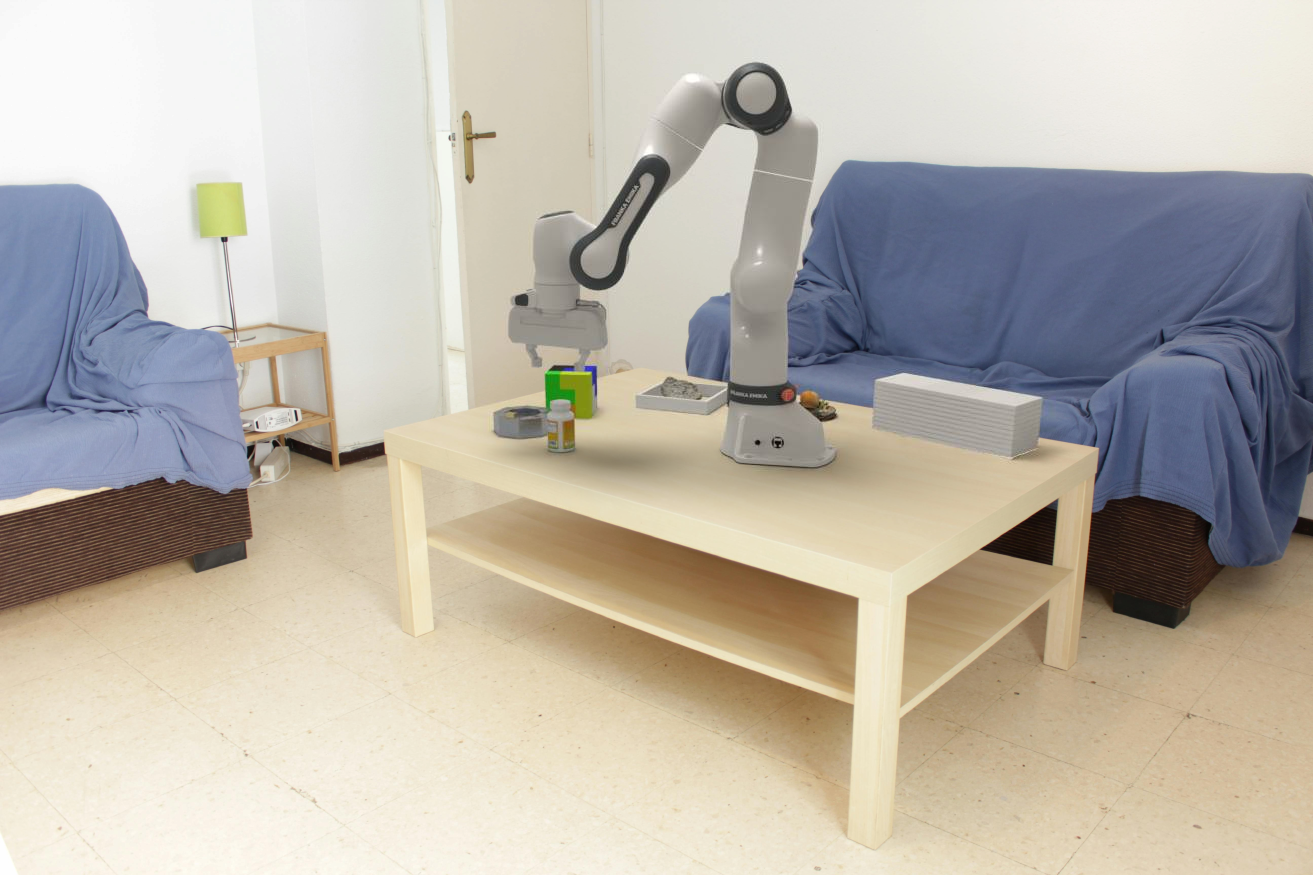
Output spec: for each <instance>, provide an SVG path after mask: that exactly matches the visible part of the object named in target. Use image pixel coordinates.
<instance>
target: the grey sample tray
mask: <svg viewBox="0 0 1313 875" xmlns="http://www.w3.org/2000/svg"><path fill="white" fill-rule="evenodd" d="M664 381H665V379H664V380H662V381H660V382H658V383H656V384H654V385H653V386H651V387H648V388H647V389H644V390H642V391H641V392H639V393H637V394H635V408H638V409H646V410H647V409H648V410H657V411H668V412H676V413H687V414H695V415H705V416H707V415H709V414H711V413H712V412H713V411H715V410H717V409H719V408H720V407H721V406H724V405H725V404H727V386H728V385H725V384H715V383H714V384H712V383H703V382H693V381H690V382H691V383H693V384H696V386H697V389H698V390H700V391H701V393H702V397H706V398H707V397H708V399H705V400H702V399H701V400H692V399H682V398H672V397H663V395H662V393H661V392H662V391H661V388H660V389H659V387H661V386H662V385H663V384H662V383H663V382H664Z"/></svg>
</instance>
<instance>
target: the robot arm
mask: <svg viewBox="0 0 1313 875" xmlns="http://www.w3.org/2000/svg"><path fill="white" fill-rule="evenodd" d="M651 116H652V117H650V119H649V120H648V122H647V124H646V125H645V128H644V130H643V132H642V134H641V137H640V139H639V141H638V144H637V146H636V149H635V152H634V155H633V158H632V162H631V164H630V169H629V170H628V175H627V177H626V180H625V182H624V183H623V185H622V188H621V189H620V191H619V193H618V195H617V196H616V197H615V199H614V201H613V202H612V203H611V205H610V207H609V208H608V210H607V212H606V214H605V215H604V217H603V218H602V220H601V221H600V223H599V224H598V225H597V224H596V225H595V224H594V223H592V222H590V221H588V220H586V219H584V218H583V217H581V216H580V215H578V214H577V212H575V211H574V210H573V211H572V210H561V211H556V212H550V213H546V214H543V215H541V216H540V217H539V218H538V219H537V220H536V221H535V225H534V229H533V238H532V240H533V241H532V261H533V263H534V268H535V270H534V271H535V272H534V277H533V288H531V289H526V291H522V292H518V293H515V294H513V295H511V296H510V299H509V300H510V305H511V306H512V308H511V309H510V310H509V314H508V324H507V326H508V329H507V331H508V332H507V333H508V339H510V341H511V343H513V344H525V350H526V353H527V354H528V356H529V357H530V360H531V361H530V362H531V363H530V364H531V368H538V369H539V368H541V367H543V357H540V356H539V354H538V352H537V350H536V349H538V346H542V347H543V346H545V347H554V348H563V349H564V348H567V349H576V350H578V355H581V356H580V358H579V359H578V361H575V362H573V365H574V367H575V368H574V371H575V372H583V371H585V366H586V361H587V360H588V359H589V356H590V355H591V351H597V352H598V351H602V350H603V349H605V348H606V346H607V345H608V342H609V341H608V338H609V337H608V328H607V322H606V321H607V309H606V307H605V306H604V304H602V303H600V301H598V300H587V299H581V286H582V287H584V289H585V288H586V289H587V290H592V291H599V292H600V291H606V290H608V289H611V288H613V287H614V286H616V285H617V284H618V283H619V282H620V281H621V279H622V277H623V276H624V273H625V270H626V268H627V266H628V264H629V260H630V249H629V248H630V245H631V243H632V241H633V239H634V237H635V235H636V234H637V232H638V230H639V229H640V227H641V226H642V224H643V222H644V221H645V220H646V218H647V216H648V214H649V212H650V211H651V209H652V208H653V207H654V205H655V204H656V202H657V201H658V200H659V199H660V198H661V197H662V196H663V195H664V194H665V193H666V192H667V191H669V190H670V189H671V188H672V187H674V186H675V185H676V184H677V183H678V182H679V181H680V180H681V179H682V178H683V177H684V176H685V175H686V174H687V173H688V171H689V170H690V169H691V168H692V166H693V165H694V164H695V163H696V161H697V160H698V159H699V156H700V155H701V154H702V152H703V150H704V149H705V147H706V146H707V144H708V142H709V141H710V139H711V137H712V136H713V134H714V133H715V132H716V131H717V130H718V129H719V128H720V127H722V126H723V125H727V126H730V127H734V128H736V129H740V130H744V131H747V130H748V131H752V132H753V133H754V135H755V137H756V141H757V151H756V152H757V153H756V154H757V155H756V158H755V162H754V168H753V173H752V177H751V182H750V187H749V191H748V197H747V202H746V206H745V210H744V212H745V213H744V217H743V224H742V225H743V226H742V231H741V232H742V233H741V239H740V244H739V249H738V250H739V251H738V255H737V258H736V259H735V260H734V262H733V263H732V266H731V269H730V274H729V276H730V277H729V278H730V280H729V281H730V282H729V285H730V286H729V287H730V288H729V290H730V291H729V295H730V296H729V298H730V299H729V304H730V306H729V307H730V309H729V310H730V311H729V312H730V314H729V315H730V319H729V321H730V328H729V329H730V352H729V353H730V355H729V356H730V358H729V362H730V363H729V370H730V371H729V379H728V380H727V385H726V386H727V402H726V405H727V406H726V407H727V408H728V409H727V417H726V418H727V419H726V424H725V428H724V429H725V430H724V434H723V439H722V441H721V445H720V449H719V450H720V452H721V453H722V454H724V455H726V456H728V457H730V458H732V459H733V460H734V461H735V462H737V463H740V464H752V465H753V464H754V465H769V466H785V467H803V468H806V467H807V468H818V467H823V466H825V465H827V464H829V463H830V462H832V461H833V460H834V459H835V457H836V454H837V449H836V447H835V446H834V445H833V444H831V443H826V437H825V430H824V426H823V424H822V422H820V420H819V419H817V418H816V417H815V416H814V415H812V414H811V413H810V412H809V411H807V410H806V409H805V408H804V407H803V406H802V405H800V404H799V402H798V401H797V398H798V396H797V394H798V392H797V391H799V389H798V388H799V384H795V385H794V384H792V383H791V382H790V381H789V380H788V364H789V361H788V360H789V359H788V358H789V357H788V356H789V330H788V329H789V328H788V302H789V300H790V299H791V297H792V295H793V292H794V288H795V286H794V285H795V283H796V282H795V281H796V275H797V271H798V270H797V269H798V265H799V259H800V258H799V257H800V250H801V244H802V236H803V231H804V230H803V229H804V224H805V219H806V215H807V214H806V213H807V208H808V205H809V199H810V197H811V191H812V187H813V181H814V177H815V173H816V166H817V160H818V159H817V158H818V146H819V131H818V130H819V129H818V128H817V125H816V123H815V122H814V121H813V120H812V119H811V118H809V117H808V116H806V115H804V114H802V113H799V112H794V111H793V107H792V104H791V101H790V97H789V94H788V89H787V86H786V84H785V81H784V79H783V78H782V75H781V74H780V72H778V71H777V70H776V68H774V67H772V66H771V65H770V64H767V63H764V62H758V61H753V62H749V63H745V64H742V65H741V66H739V67H737V68H736V69H735V70H734V71H733V72H732V73H731V74H730V76H729V77H727V79H725V80H723V81H716V80H713V79H711V77H708V76H706V75H704V74H702V73H696V72H695V73H694V72H692V73H687V74H685V75H683V76H682V77H680V78H679V79H678V81H677V82H676V83H674V85H673V86H672V88H671V89H669V91H668V93H666V95H665V96H664V98H663V99H662V100H661V101H660V103H659V105H658V106H657V108H656V109H655V111H654V112H653V113H652V115H651Z"/></svg>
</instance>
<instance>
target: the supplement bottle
mask: <svg viewBox="0 0 1313 875" xmlns="http://www.w3.org/2000/svg"><path fill="white" fill-rule="evenodd" d="M570 407H571V404H570V401H569V400H553V401H551V402H550V409H551V410H552V411H551V412H549V413H548V414H547V433H548V434H547V449H548V450H549V451H551V452H553V453H568V452H571V451H574V450H575V448H576V433H575V432H576V430H575V429H576V428H575V424H576V423H575V418H574V414H573V412H571V411H570V410H569V409H570Z"/></svg>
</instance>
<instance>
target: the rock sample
mask: <svg viewBox="0 0 1313 875" xmlns="http://www.w3.org/2000/svg"><path fill="white" fill-rule="evenodd" d="M664 380H665V381H664ZM664 380H663V381H664V382H663V383H662V384H663V385H662V386H661V387H659V389H660V388H661V391H662V392H661V393H662V397H672V398H682V399H692V400H702V399H703V396H702V393H701V391H700V390H698V389H697V386H696V384H693V383H691V382H692V381H688V380H685V379H680V378H679V379H677V378H675V377H672V376H667V377H666V378H665V379H664Z"/></svg>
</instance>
